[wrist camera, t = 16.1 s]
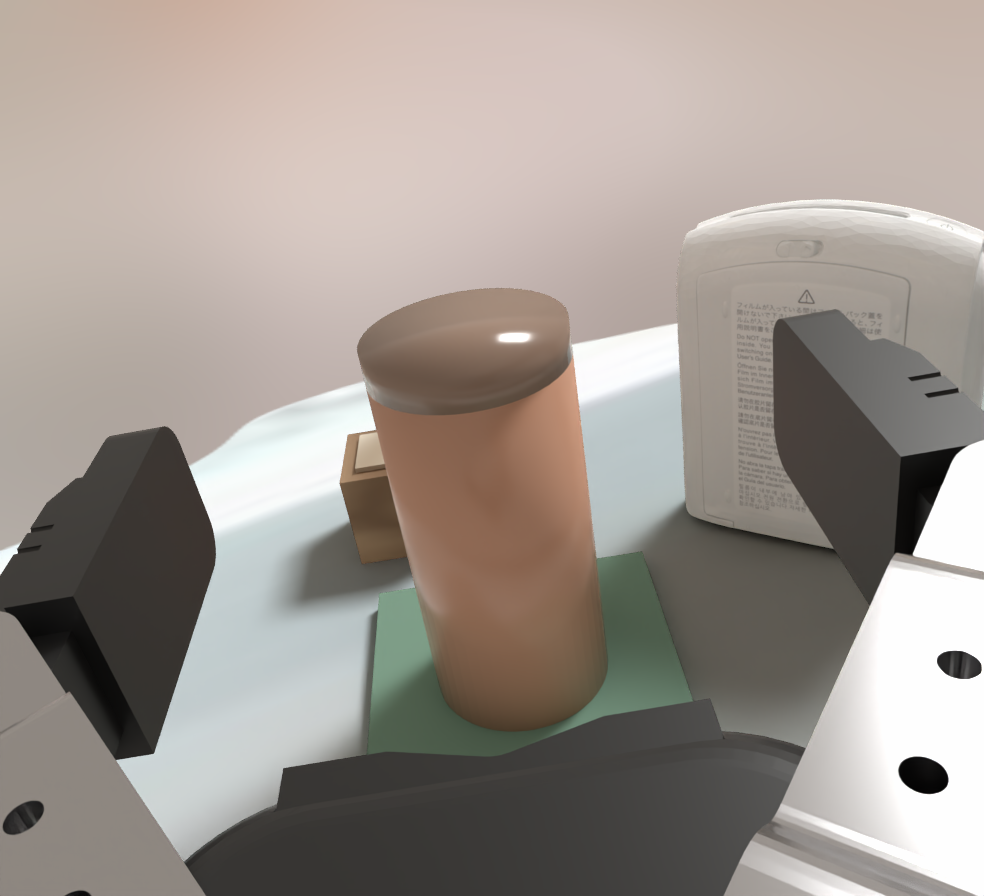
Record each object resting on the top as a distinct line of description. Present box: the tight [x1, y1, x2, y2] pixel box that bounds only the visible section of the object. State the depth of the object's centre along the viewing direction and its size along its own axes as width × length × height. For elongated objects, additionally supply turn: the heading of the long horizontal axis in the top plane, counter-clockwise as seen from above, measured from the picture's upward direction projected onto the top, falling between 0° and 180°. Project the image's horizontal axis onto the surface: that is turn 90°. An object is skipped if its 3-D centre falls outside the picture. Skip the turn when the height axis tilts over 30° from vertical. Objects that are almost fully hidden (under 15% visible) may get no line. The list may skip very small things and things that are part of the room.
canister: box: [357, 288, 608, 732], centre depth 27 cm, size 6×6×12 cm
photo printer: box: [676, 200, 984, 549], centre depth 33 cm, size 10×4×12 cm, turn 58°
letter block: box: [340, 430, 407, 564], centre depth 39 cm, size 4×4×4 cm
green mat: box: [367, 552, 693, 757], centre depth 31 cm, size 10×10×1 cm
